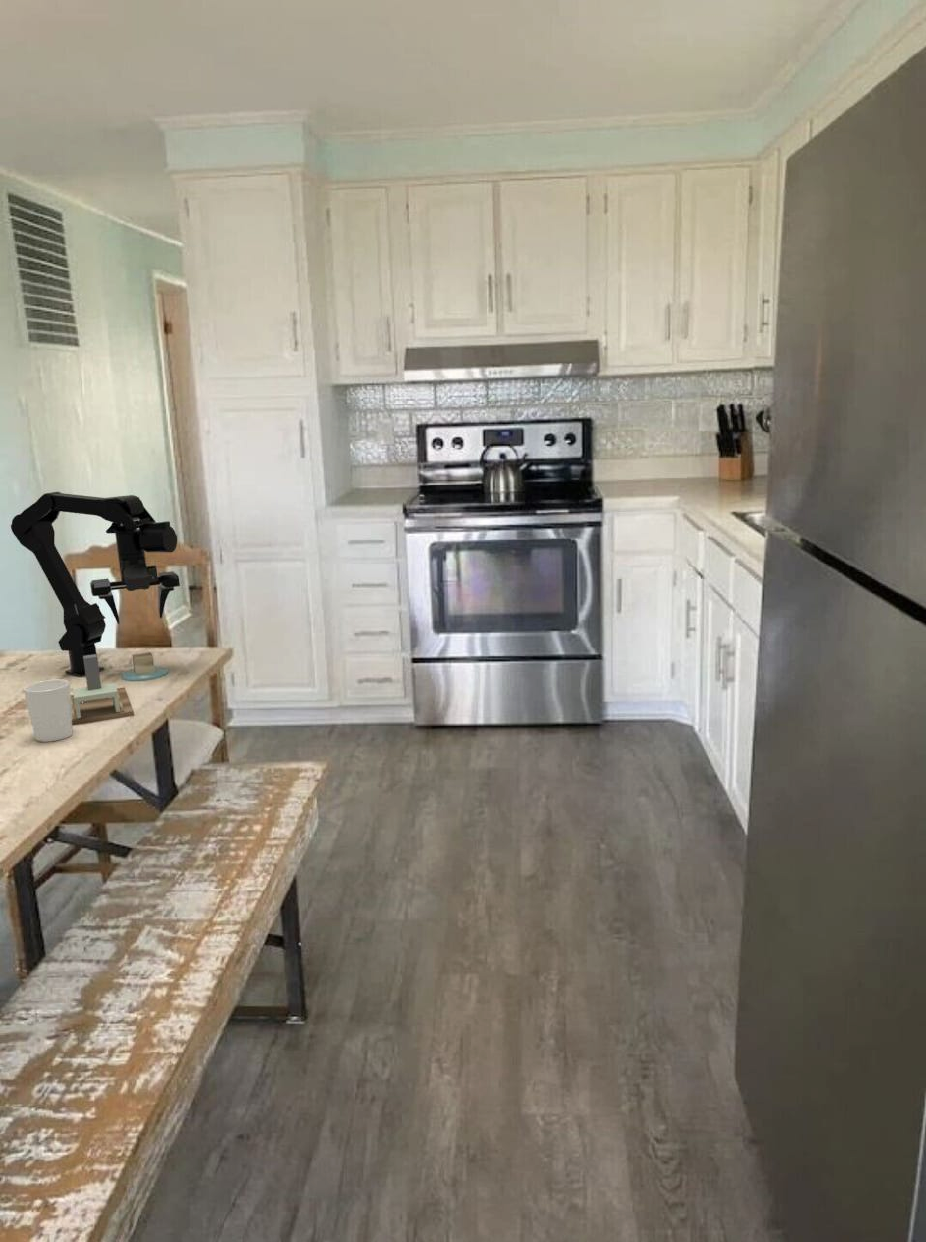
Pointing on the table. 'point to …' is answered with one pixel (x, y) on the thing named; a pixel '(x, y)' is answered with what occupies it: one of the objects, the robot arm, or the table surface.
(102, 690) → the sliding cover
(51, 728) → the white cup
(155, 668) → the teal saucer
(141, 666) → the block
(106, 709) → the puzzle board
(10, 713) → the table surface
